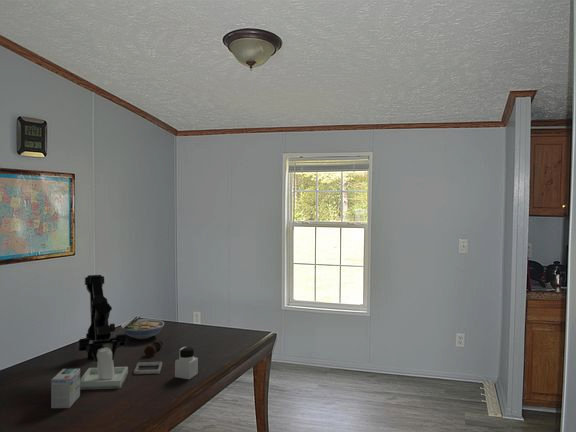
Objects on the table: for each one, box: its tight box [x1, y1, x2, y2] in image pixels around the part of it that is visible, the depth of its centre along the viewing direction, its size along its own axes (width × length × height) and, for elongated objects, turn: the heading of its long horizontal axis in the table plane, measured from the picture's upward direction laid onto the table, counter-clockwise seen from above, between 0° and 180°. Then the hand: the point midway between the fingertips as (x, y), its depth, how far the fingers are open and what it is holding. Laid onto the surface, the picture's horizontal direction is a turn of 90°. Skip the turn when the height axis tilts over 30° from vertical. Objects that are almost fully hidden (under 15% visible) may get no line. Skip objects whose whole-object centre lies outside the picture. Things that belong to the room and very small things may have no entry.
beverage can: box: [96, 346, 115, 380], centre depth 192 cm, size 6×6×12 cm
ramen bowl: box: [120, 316, 165, 340], centre depth 254 cm, size 25×23×8 cm
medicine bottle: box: [174, 346, 199, 380], centre depth 199 cm, size 7×7×12 cm
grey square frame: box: [133, 361, 163, 375], centre depth 206 cm, size 11×11×2 cm
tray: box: [80, 366, 129, 391], centre depth 192 cm, size 16×16×3 cm
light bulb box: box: [50, 368, 81, 409], centre depth 171 cm, size 11×7×11 cm, turn 5°
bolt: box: [143, 340, 164, 357], centre depth 231 cm, size 6×5×15 cm
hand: (104, 360), depth 190 cm, fingers closed on beverage can, 6 cm apart
